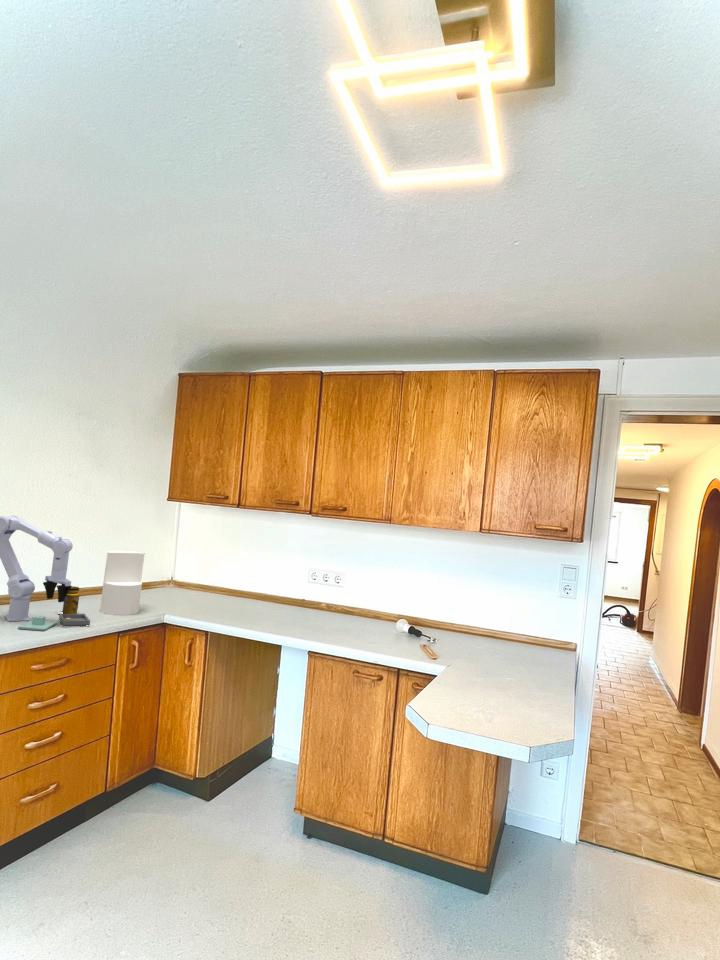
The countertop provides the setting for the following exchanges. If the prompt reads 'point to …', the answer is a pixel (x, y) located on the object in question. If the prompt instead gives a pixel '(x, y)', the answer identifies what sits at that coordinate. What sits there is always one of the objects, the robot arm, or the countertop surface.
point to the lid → (37, 624)
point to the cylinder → (122, 582)
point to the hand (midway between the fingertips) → (55, 600)
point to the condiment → (71, 601)
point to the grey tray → (74, 619)
